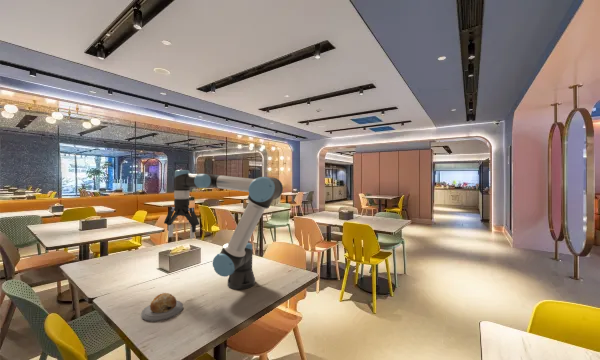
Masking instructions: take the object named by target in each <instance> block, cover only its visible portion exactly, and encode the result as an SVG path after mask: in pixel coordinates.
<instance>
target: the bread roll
mask: <svg viewBox="0 0 600 360" xmlns="http://www.w3.org/2000/svg"><path fill="white" fill-rule="evenodd" d="M176 300H177V299H176V297H175V295H172V293H169V292H162V293H160V294H158V295H157V296H155V297H154V298H153V300H151V302H150V304H149V305H150V310H151V311H152V312H155V313H163V312H164V313H165V312H167V311H169V310H171V309H173V308H174V307H175V306H176Z"/></svg>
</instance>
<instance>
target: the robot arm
mask: <svg viewBox="0 0 600 360" xmlns="http://www.w3.org/2000/svg"><path fill="white" fill-rule="evenodd" d="M173 179H174V180H173V181H174V192H173V193H174V194H173V195H174V196H173V198H174V200H173V206H170V207H169V209H168V212H167V215H166V217H165V219H164V222H163V223H164V224H165V225H167V227H166V228H167V233H168V234H167V236H168V238H172V237H174V224H173V223H174V222H175V220H176V219H177V217H178V216H180V217H181V216H182V217H184V218H186V220H187V222H189V224H190V226H189V227H190V228H189V232H190V233H189V239H191V240H192V239H195V236H196V234H195V233H196V231H197V228H196V227H197V226H199V225H200V221H199V218H198V217H197V214H196V212H195V207H190V188H192V189H194V188H195V189H207V188H213V189H223V190H231V191H238V192H244V193H245V192H246V193H248V196H247V201H248V204H247V205H246V208H245V209H244V211H243V213H242V216H241V217H240V219H239V221H238V223H237V225H236V227H235V229H234V231H233V233H232V235H231V237H230V239H229V242H226V243H224V245H223V247H222V249H221V250H220V252H219V253H217V254H216V255H215V256H214V257H213V259H212V267H213V269H214V272H215V273H216V274H217V275H219V276H220V277H224V278H225V277H228V278H227V287H228V288H229V289H232V290H246V289H249V288H252V287H253V286H255V284H256V277H255V274H254V271H253V251H254V250H253V249H254V248H253V244H252V242H251V243H250V242H249V241H250V239H251V237H252V236H253V234H254V232H255V229H256V227H257V226H258V223H259V221H260V219H261V217H262V216H263V213H264V211H265V210H267V209H270V206H271V205H272V203H273V200H277V199H278V198H280V197H281V196H282V193H283V192H284V185H283V183H282V181H281V180H280V179H278V178H277V177H271V176H270V177H269V176H259V177H257V178H247V177H241V176H239V177H238V176H230V175H220V174H216V173H215V174H208V173H191V171H190V170H188V169H177V170H175V171H174V178H173Z"/></svg>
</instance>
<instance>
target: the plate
mask: <svg viewBox="0 0 600 360" xmlns="http://www.w3.org/2000/svg"><path fill="white" fill-rule="evenodd" d="M150 305H151V304H149V305H147V306H146V307H145V308H143V309H142V311H141V315H140V316H141V319H142V320H144V321H147V322H160V321H164V320H168V319H171V318H174V317H175V316H177V315H178V314H180V313H181V312H183V308H184V305H183V302H182V301H180V300H177V299H176V306H175V307H174V308H173V309H171V310H169V311H167V312H165V313H164V312H163V313H155V312H152V311H151V310H150Z"/></svg>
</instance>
